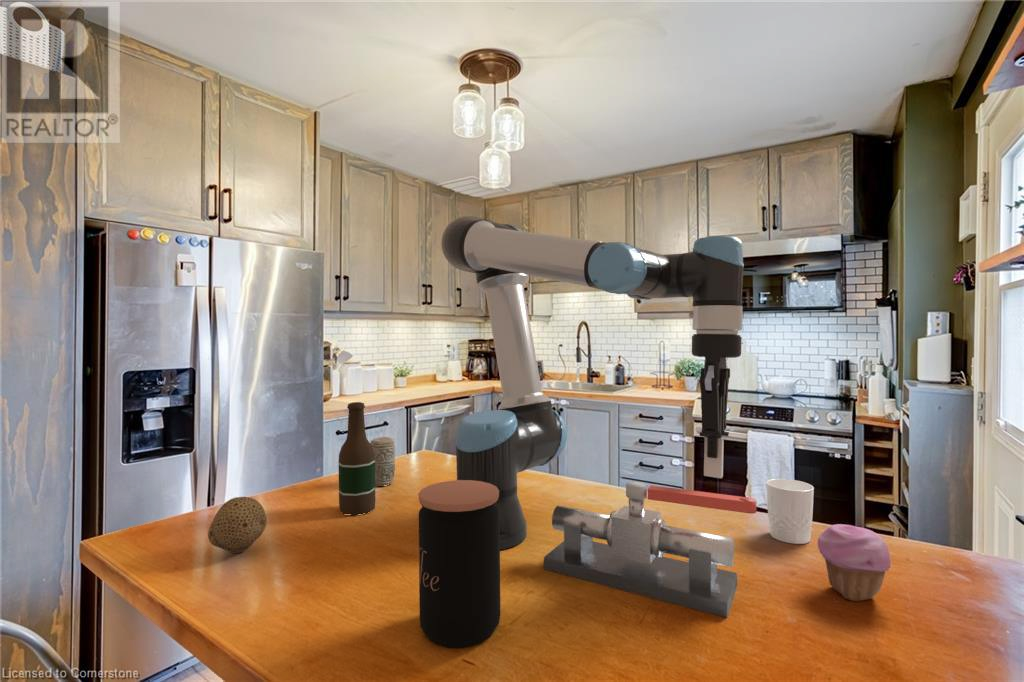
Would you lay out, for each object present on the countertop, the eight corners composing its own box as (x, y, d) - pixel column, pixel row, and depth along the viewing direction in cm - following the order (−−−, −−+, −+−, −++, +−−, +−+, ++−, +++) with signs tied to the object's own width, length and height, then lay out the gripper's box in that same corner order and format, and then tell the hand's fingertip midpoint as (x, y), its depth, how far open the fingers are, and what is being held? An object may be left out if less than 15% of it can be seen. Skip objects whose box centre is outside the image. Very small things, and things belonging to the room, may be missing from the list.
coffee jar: (423, 607, 71) (422, 481, 71) (498, 602, 72) (497, 478, 72) (415, 654, 60) (413, 506, 60) (503, 649, 61) (501, 503, 61)
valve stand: (544, 569, 82) (543, 493, 82) (569, 547, 91) (569, 478, 91) (727, 617, 68) (726, 525, 68) (737, 586, 76) (736, 504, 76)
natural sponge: (275, 552, 90) (274, 497, 90) (220, 569, 83) (219, 510, 83) (256, 538, 96) (255, 487, 96) (203, 553, 89) (203, 498, 89)
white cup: (821, 547, 90) (820, 492, 90) (773, 544, 91) (773, 489, 91) (804, 530, 97) (804, 479, 97) (761, 527, 99) (760, 477, 99)
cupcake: (806, 579, 78) (806, 515, 78) (863, 579, 78) (863, 515, 78) (842, 610, 69) (842, 538, 69) (906, 611, 69) (906, 539, 69)
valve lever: (623, 497, 78) (623, 486, 78) (628, 492, 81) (628, 481, 81) (756, 516, 70) (756, 503, 70) (756, 509, 73) (756, 496, 73)
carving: (382, 489, 126) (382, 442, 126) (362, 485, 130) (362, 439, 130) (401, 483, 132) (400, 438, 131) (381, 479, 136) (380, 435, 136)
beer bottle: (382, 508, 112) (381, 401, 112) (355, 519, 106) (353, 406, 106) (359, 502, 117) (358, 399, 116) (331, 512, 110) (330, 403, 110)
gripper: (700, 332, 89) (697, 463, 90) (683, 332, 78) (680, 482, 79) (746, 332, 85) (743, 470, 86) (735, 333, 74) (731, 490, 75)
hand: (713, 475), depth 82 cm, fingers closed
